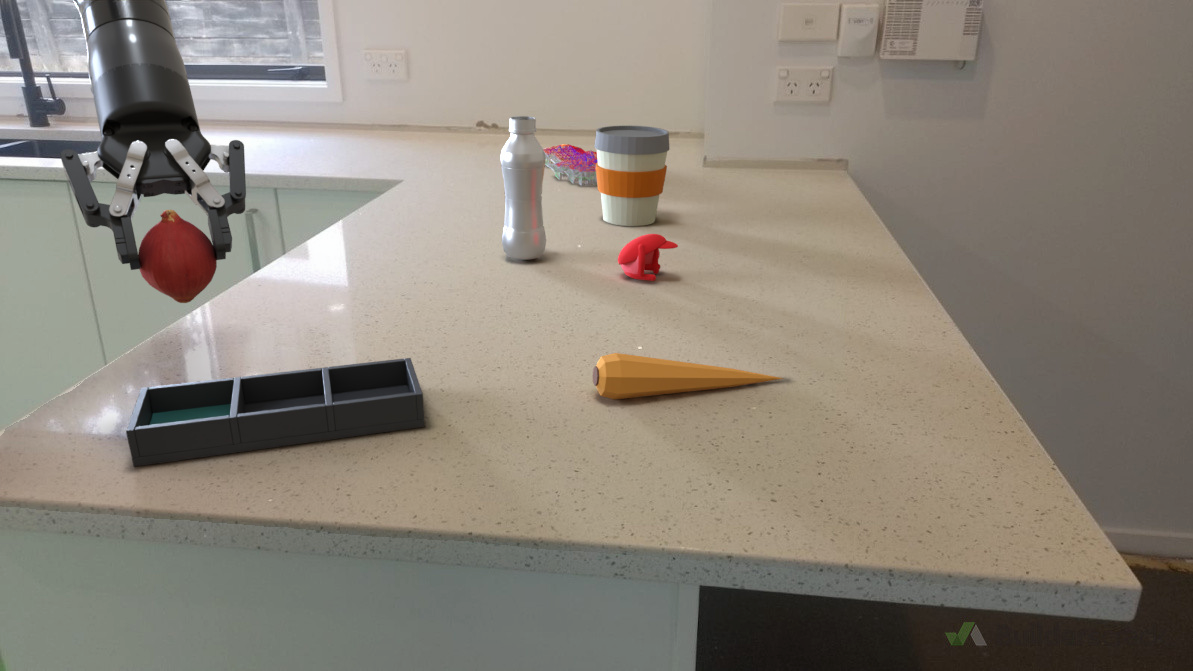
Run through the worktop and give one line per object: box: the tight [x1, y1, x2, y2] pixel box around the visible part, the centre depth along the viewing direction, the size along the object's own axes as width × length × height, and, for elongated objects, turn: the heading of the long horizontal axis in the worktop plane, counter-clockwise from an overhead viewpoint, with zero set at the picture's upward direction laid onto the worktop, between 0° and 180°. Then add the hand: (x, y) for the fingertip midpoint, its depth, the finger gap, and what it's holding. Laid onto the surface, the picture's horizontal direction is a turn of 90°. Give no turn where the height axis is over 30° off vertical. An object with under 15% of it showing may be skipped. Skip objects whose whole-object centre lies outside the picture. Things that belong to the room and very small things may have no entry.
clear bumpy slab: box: [542, 143, 598, 187], centre depth 180 cm, size 30×15×5 cm, turn 15°
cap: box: [617, 233, 679, 282], centre depth 115 cm, size 8×6×6 cm
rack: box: [125, 357, 426, 467], centre depth 74 cm, size 23×8×3 cm, turn 109°
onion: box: [138, 209, 218, 304], centre depth 69 cm, size 6×6×8 cm
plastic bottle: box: [499, 115, 547, 261], centre depth 119 cm, size 6×7×20 cm
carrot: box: [592, 352, 784, 401], centre depth 83 cm, size 20×4×4 cm, turn 103°
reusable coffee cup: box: [594, 125, 671, 227], centre depth 142 cm, size 13×13×15 cm
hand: (179, 259), depth 67 cm, fingers closed on onion, 5 cm apart
